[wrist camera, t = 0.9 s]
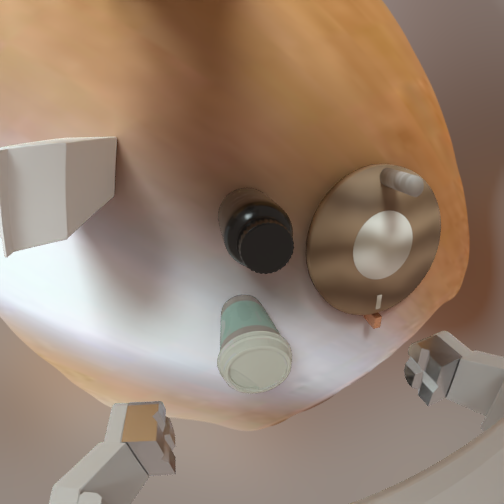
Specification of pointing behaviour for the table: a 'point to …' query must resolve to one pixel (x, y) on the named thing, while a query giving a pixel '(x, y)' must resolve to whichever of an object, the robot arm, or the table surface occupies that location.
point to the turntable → (373, 239)
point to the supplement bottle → (255, 230)
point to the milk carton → (53, 188)
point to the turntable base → (373, 319)
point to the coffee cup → (251, 347)
